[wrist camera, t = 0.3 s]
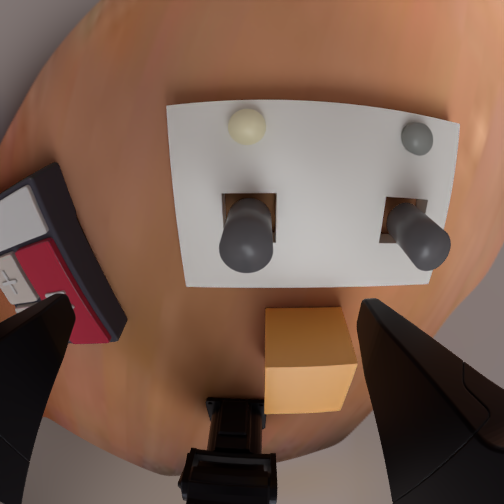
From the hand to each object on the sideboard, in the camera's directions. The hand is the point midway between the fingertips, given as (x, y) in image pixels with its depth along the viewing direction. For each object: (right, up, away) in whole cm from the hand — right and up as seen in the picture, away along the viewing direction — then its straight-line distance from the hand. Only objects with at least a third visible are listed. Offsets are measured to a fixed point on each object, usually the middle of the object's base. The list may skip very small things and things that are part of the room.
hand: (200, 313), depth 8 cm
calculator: (-16, +1, +14) cm, 22 cm away
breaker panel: (+6, +5, +10) cm, 13 cm away
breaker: (+11, +4, +9) cm, 15 cm away
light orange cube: (+6, -5, +16) cm, 18 cm away
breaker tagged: (+1, +4, +10) cm, 11 cm away
